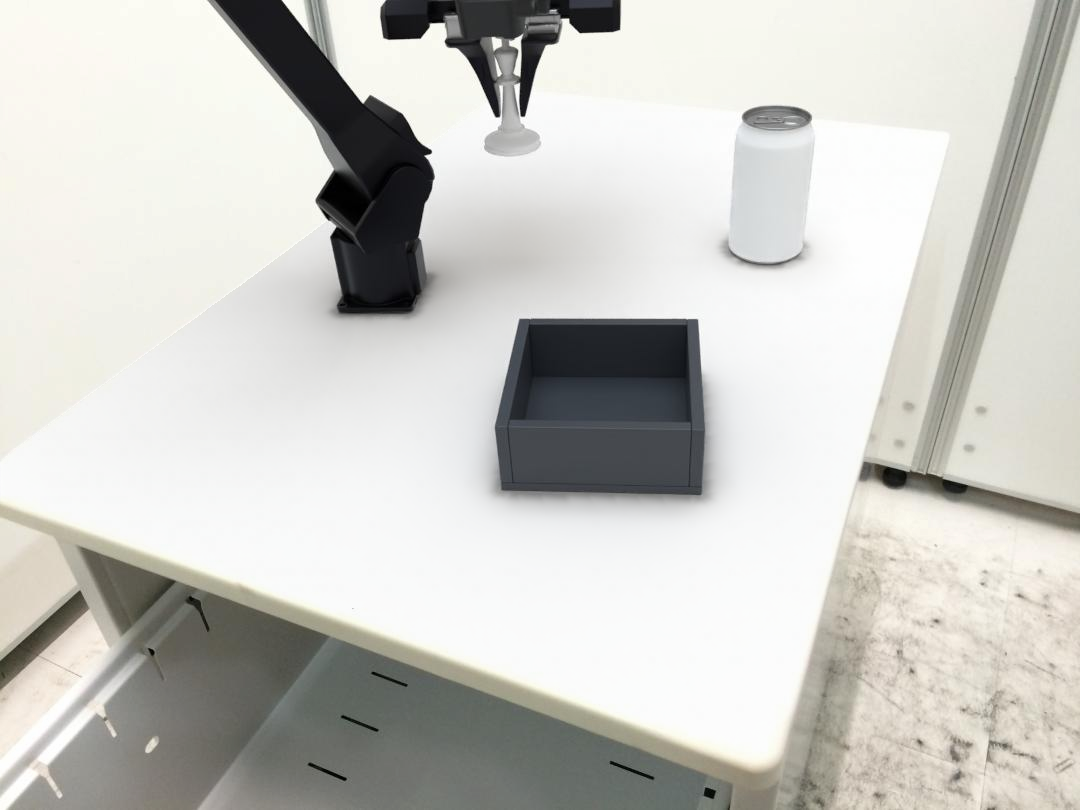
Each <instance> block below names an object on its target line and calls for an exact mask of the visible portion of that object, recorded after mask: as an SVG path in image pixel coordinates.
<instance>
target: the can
mask: <svg viewBox="0 0 1080 810" xmlns="http://www.w3.org/2000/svg"><path fill="white" fill-rule="evenodd" d="M741 120H742V121H741V123H740V124H739V126H738V128H737V129H736V131H735V138H734V150H733V151H734V152H733V164H732V175H731V176H732V177H731V178H732V179H731V180H732V181H731V192H730V193H731V194H730V208H729V226H728V248H729V249H730V251H731V252H732V253H733V254H734V256H736V257H737V258H738V259H740V260H743V261H744V262H747V263H752V264H757V265H777V264H782V263H786V262H788V261H791V260H793V259H794V258H795V257H797V256H798V255H799V254H800V253H801V252H802V250H803V247H804V241H805V240H804V238H805V232H806V224H807V215H808V208H809V207H808V205H809V199H810V190H811V189H810V188H811V180H812V171H813V163H814V154H815V145H816V133H815V131H814V127H813V125H812V121H813V115H812V114H811V112H809V111H808V110H806V109H804V108H802V107H798V106H794V105H787V104H766V105H759V106H755V107H751V108H748V109H747V110H745V111H744V112H743V113H742V114H741Z"/></svg>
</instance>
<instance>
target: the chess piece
mask: <svg viewBox="0 0 1080 810" xmlns="http://www.w3.org/2000/svg"><path fill="white" fill-rule="evenodd" d="M494 38H495V39H499V40H501V41H500V42H501V46H499V47H497V48H495V49H494V56H495V61H496V62H497V63H496V64H497V66H498V68H499V71H500V73H501V74H500V75H498V77H497V78H496V81H495V83H496V84H497V85H499V86H501V87H502V103H501V121H500V125H498V126H497V129H496V130H493V131H491V132H490V133H488V134H487V135H486V136H485V137H484V145H483V149H484V151H485V152H487V153H488V154H491V155H493V156H497V157H506V158H507V157H508V158H509V157H521V156H526V155H529V154H532V153H535V152H536V151H538V150H539V149H540V148H541V146H542V141H541V140H540V139H541V136H540V134H539V133H538V132H536V130H533V129H530V128H527V127H526V126H525V125H524V123H522V122H521V116H520V111H519V107H518V102H517V101H518V100H517V96H516V90H515V86H516V85H518V84H519V85H520V75H517V74H515V73H514V72H515V69H516V65H517V60H518V56H519V49H518V48H517V47H515V46H512V45H510V42H513V41H515V40H516V38H514V39H504V38H503V37H494Z"/></svg>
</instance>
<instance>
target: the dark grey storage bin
mask: <svg viewBox="0 0 1080 810" xmlns="http://www.w3.org/2000/svg"><path fill="white" fill-rule="evenodd" d="M699 325H700V324H699V319H698V318H568V317H567V318H565V317H564V318H560V317H559V318H554V317H553V318H551V317H550V318H549V317H547V318H545V317H543V318H542V317H541V318H538V317H537V318H532V317H531V318H519V319H518V322H517V326H516V331H515V336H514V341H513V344H512V350H511V352H510V358H509V361H508V362H509V363H508V367H507V370H506V375H505V380H504V385H503V387H502V393H501V397H500V401H499V406H498V410H497V416H496V420H495V424H494V433H495V435H494V436H495V443H496V451H497V460H498V461H497V462H498V470H499V478H500V479H499V480H500V487H501V490H502V491H503V490H504V491H539V492H540V491H541V492H543V491H544V492H545V491H546V492H585V493H587V492H588V493H627V494H629V493H632V494H669V495H671V494H673V495H675V494H677V495H702V493H703V476H704V475H703V474H704V459H705V443H706V442H705V439H706V420H705V419H706V418H705V407H704V406H705V405H704V404H705V403H704V389H703V388H704V387H703V374H702V373H703V372H702V359H701V342H700V341H701V340H700V339H701V338H700V326H699Z"/></svg>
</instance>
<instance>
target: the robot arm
mask: <svg viewBox="0 0 1080 810" xmlns="http://www.w3.org/2000/svg"><path fill="white" fill-rule="evenodd" d="M206 1H207V2H208V3H209V4H210V6H211V7H212V8H213V9H214V10H215V11H216V13H217V14H218V16H219V17H221V19H222V20H223V21H224V22H225V24H226V25H227V26H228V27H229V28H230V30H232V32H233V33H234V34H235V35H236V36H237V38H238V39H239V40H240V41H241V42H242V43H243V44H244V46H245V47H246V48H247V49H248V50H249V52H250V53H251V54H252V55H253V56H254V58H255V59H256V60H257V62H259V64H260V65H261V66H262V67H263V68H264V69H265V70H266V72H267V74H269V76H271V77H272V79H273V80H274V81H275V82H276V83H277V85H279V87H280V88H281V89H282V90H283V92H284V93H285V94H286V95H287V96H288V98H289V99H290V100H291V101H292V102H293V103H294V104H295V106H296V107H297V108H298V110H300V112H301V113H302V114H303V115H304V116H305V118H306V119H307V120H308V121H309V122H310V124H311V125H312V127H313V129H314V131H315V133H316V136H317V138H318V141H319V143H320V146H321V149H322V151H323V153H324V154H325V156H326V158H327V160H328V161H329V163H330V165H331V166H332V168H333V170H332V172H331V173H330V175H329V177H328V178H327V180H326V181H325V183H324V184H323V186H322V188H321V190H320V191H319V192H318V194H317V195H316V197H315V199H314V200H315V202H314V203H315V204H316V206H317V207H318V209H319V211H320V212H321V213H322V215H323V216H324V218H325V219H326V220H327V221H328V222H331V223H332V224H333V225H334V226H336V227H335V228H334V229H333V231H332V233H331V235H330V236H329V239H330V244H331V248H332V249H331V250H332V253H333V258H334V264H335V267H336V268H335V269H336V272H337V277H338V281H339V287H340V292H341V296H340V298H339V300H338V302H337V303H336V308H337V311H338V312H339V313H410V312H412V311H413V310H414V308H415V306H416V303H417V300H418V298H419V296H421V294H423V291H424V288H425V286H426V283H427V280H428V276H427V269H426V263H425V257H424V249H423V242H422V239H421V238H420V232H421V227H422V221H423V216H424V211H425V205H426V203H427V202H428V200H429V199H430V196H431V193H432V191H433V187H434V186H433V184H434V180H435V179H436V175H435V170H434V167H433V166H432V164H431V162H430V160H429V159H428V158H427V157H426V156H430V155H432V154H433V150H432V149H431V148H429V147H428V146H426V145H425V144H423V143H422V142H421V141H419V139H418V138H417V136H416V134H415V133H414V131H413V129H412V126H411V125H410V123H409V122H408V120H407V118H406V117H405V115H404V114H403V112H400V111H399V110H397V109H396V108H394V107H392V106H390V105H389V104H387V103H385V102H384V101H383V100H381V99H379V98H377V97H375V96H373V95H372V94H369V95H368V97H366V99H365V100H364V102H362V100H361V99H360V98H359V97H358V95H357V94H356V93H355V92H354V90H353V89H352V87H350V85H349V84H348V83H347V82H346V80H345V79H344V77H343V76H342V75H341V74H340V73H339V72H338V70H337V69H336V67H335V66H334V65H333V64H332V63H331V61H330V59H328V57H327V56H326V54H325V53H324V52H323V51H322V50H321V48H320V47H319V46H318V44H317V43H316V42H315V41H314V39H313V38H312V37H311V35H310V34H309V33H308V32H307V30H306V29H305V28H304V26H303V25H302V23H300V21H299V20H298V18H297V17H296V16H295V15H294V13H292V11H291V10H290V9H289V7H288V6H287V5H286V4H285V2H284V1H283V0H206ZM379 9H380V10H379V12H380V13H379V19H380V26H381V32H382V38H383V39H384V40H388V41H399V40H402V41H403V40H421V39H422V38H423V37H424V35H425V34H426V33H427V32H428V30H429V29H430V28H431V24H435V25H436V24H444V29H445V32H446V33H445V34H446V37H445V39H444V41H443V42H444V44H445V47H446V48H448V49H457V51H459V52H460V53H461V54H462V55H463V56H464V57H465V59H466V60H467V61H468V63H469V64H470V67H471V68H472V70H473V71H474V73H475V75H476V78H477V79H478V81H479V84H480V86H481V88H482V90H483V92H484V93H483V94H484V95H485V97H486V99H487V103H488V104H489V107H490V109H491V112H492V114H493V116H494V117H495V118H497V119H499V118H501V117H502V103H501V102H502V97H501V88H500V85H497V84H496V83H495V81H496V78H497V77H499V75H498V68H497V63H496V62H497V61H496V58H495V55H494V51H495V49H494V44H493V38H495V37H503V38H504V39H514V38H515V39H517V38H520V37H521V39H520V53H521V55H520V57H521V58H520V73H519V74H520V75H519V77H520V83H519V92H518V93H519V94H518V95H519V96H518V104H519V117H520V118H525V117H526V115H527V111H528V106H529V103H530V98H531V95H532V90H533V86H534V82H535V78H536V73H537V69H538V67H539V64H540V61H541V59H542V56H543V53H544V51H545V49H546V46H553V45H557V44H559V42H560V40H561V39H560V38H561V36H562V35H561V34H562V30H563V20H568V23H569V24H570V26H571V27H572V28H574V29H575V30H576V31H577V32H578V34H600V33H602V34H603V33H604V34H605V33H615V32H619V31H621V23H622V0H385V1H384V2H383V3H382V4H381V6H380V8H379Z"/></svg>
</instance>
